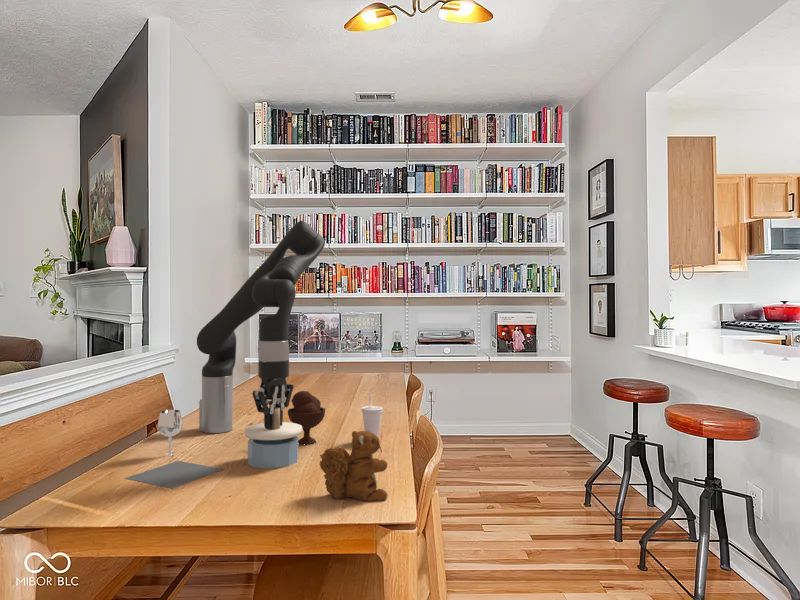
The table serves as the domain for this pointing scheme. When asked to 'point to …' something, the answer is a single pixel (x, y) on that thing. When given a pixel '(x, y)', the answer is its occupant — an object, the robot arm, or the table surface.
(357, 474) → the stuffed squirrel
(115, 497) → the table surface
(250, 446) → the bowl
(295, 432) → the lid
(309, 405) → the ice cream bowl
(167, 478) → the mat
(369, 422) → the smoothie
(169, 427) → the wineglass
